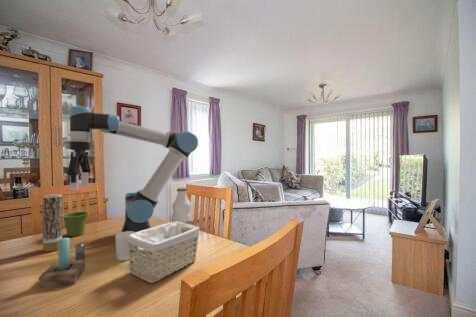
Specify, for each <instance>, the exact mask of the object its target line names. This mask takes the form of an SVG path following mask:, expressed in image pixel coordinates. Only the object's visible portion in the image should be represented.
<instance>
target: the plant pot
mask: <svg viewBox="0 0 476 317" xmlns="http://www.w3.org/2000/svg"><path fill="white" fill-rule="evenodd" d="M89 214H90V212H88V211H73V212H68V213H65V214H62V218H63V220H64V224H65V230H66V234H67V236H68V237H71V238H72V237H79V236H80V235H83V234H85V228H86V223H87V220H88V215H89Z"/></svg>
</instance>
